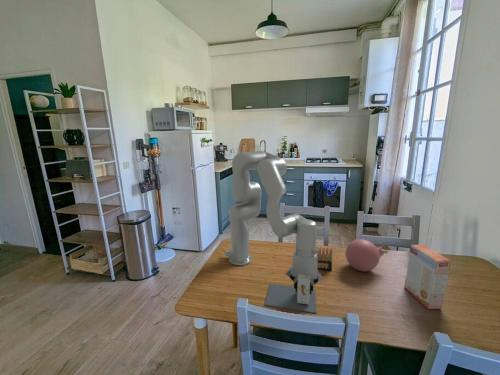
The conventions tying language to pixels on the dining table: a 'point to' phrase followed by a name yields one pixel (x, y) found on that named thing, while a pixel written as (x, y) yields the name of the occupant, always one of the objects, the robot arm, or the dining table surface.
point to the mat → (288, 299)
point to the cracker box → (427, 276)
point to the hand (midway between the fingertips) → (303, 290)
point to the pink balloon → (363, 255)
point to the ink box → (303, 289)
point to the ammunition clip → (324, 260)
